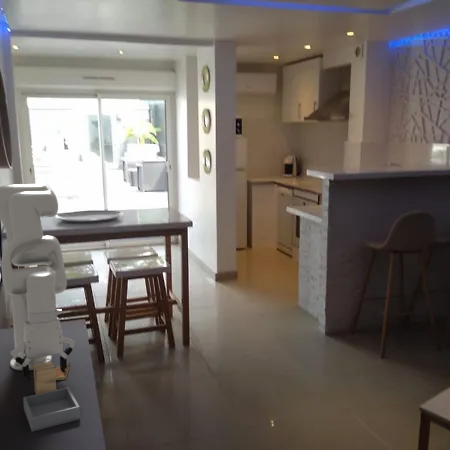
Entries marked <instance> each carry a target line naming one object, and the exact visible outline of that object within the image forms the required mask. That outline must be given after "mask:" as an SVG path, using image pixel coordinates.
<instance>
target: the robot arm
mask: <svg viewBox="0 0 450 450" xmlns="http://www.w3.org/2000/svg"><path fill="white" fill-rule="evenodd" d="M58 211H59V203H58V199H57V196H56V194H55V192H54V190H53V189H52V188H51V187H50V186H49V185H48V184H45V183H25V184H24V183H18V184H17V183H14V184H4V185H0V220H1V222H2V223H1V224H3V227H4V230H5V232H6V233H5V236H6V241H7V242H6V243H7V246H6V247H5V249H4V251H3V252H2V255H1V256H2V257H1V260H0V268H1V275H2V276H1V277H2V284H3V285H2V286H3V287H4V291H5V292H6V294H7V295H10V299H11V300H10V301H11V306H12V307H11V308H12V320H13V321H12V322H13V339H14V349H12V350H11V351H10V355H11V356H12V358H11V359H10V367H11V368H12V369H13V370H16V371H22V377H25V379H26V381H29V380H30V378H31V377H30V371H34V365H36V364H41V363H46V362H51V361H52V360H53V358H52V356H54V355H60V356H59V366H60V369H61V371H62V372H63V373H64V372H65V368H67V364H68V362H67V359H68V357H69V355H70V354H71V353H72V351H73V349H74V347H75V345H76V343H77V342H76V341H75V340H74V339H72V338H69V337H65V336H63V331H62V325H61V321H60V318H59V317H58V316H59V315H61V314H62V313H63V312H62V311H63V310H62V308H60V309H59V308H57V301H56V300H57V299H56V295H58V294H62V293H63V292H65V290H66V289H67V285H68V283H67V282H68V280H67V274H66V268H65V263H64V257H63V253H62V252H63V251H62V246H61V244H60V241H59V240H58V238H57V237H55V236H53V235H44V230H43V226H42V220H41V218H53V217H56V216H57V215H58ZM12 265H14V266H16V267H20V268H13V266H12ZM40 265H41V266H40ZM30 266H31V267H30ZM64 343H65V344H68V346H67V347H66V348H65V350H64Z"/></svg>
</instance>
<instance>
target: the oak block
mask: <svg viewBox="0 0 450 450" xmlns="http://www.w3.org/2000/svg"><path fill="white" fill-rule="evenodd" d="M55 368H56V366H55V365H54V363H53V362H52V361H51V362H46V363H41V364H36V365H34V370H33V378H34V380H33V381H34V392H35V395H36V394H41V393H45V392H49V391H54V390H57V381H56V371H55Z"/></svg>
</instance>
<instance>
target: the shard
mask: <svg viewBox="0 0 450 450" xmlns="http://www.w3.org/2000/svg"><path fill="white" fill-rule="evenodd" d="M70 367H71V361H70V362H67V368H65V372H64V373H63V372H62V371H61V369H60V365H59V366H57V367H56V366H55V371H56V380H57V381H62V380H66V379H67V376H68V373H69V371H70V369H71V368H70Z"/></svg>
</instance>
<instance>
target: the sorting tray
mask: <svg viewBox="0 0 450 450" xmlns="http://www.w3.org/2000/svg"><path fill="white" fill-rule="evenodd" d="M22 399H23V410H24V414H25V417H26V418H27V421H28V422H27V423H28V424H29V428H30V431H31V432H32V433H33V432H36V431H40V430H41V431H42V430H44V429H50V428H52V427H56V426H57V427H58V426H61V425H63V424H67V423H71V422H75V421H80V420H81V414H80V413H81V411H80V410H81V409H80V408H81V407H80V405H79V403H78V402H77V400H76V398H75V396H74V394H73V393H72V391H71V390H70V387H63V388H59V389H58V388H57V389H56V390H54V391H49V392H45V393H41V394H36V393H35V394H33V395H29V396H23V398H22Z"/></svg>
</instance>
